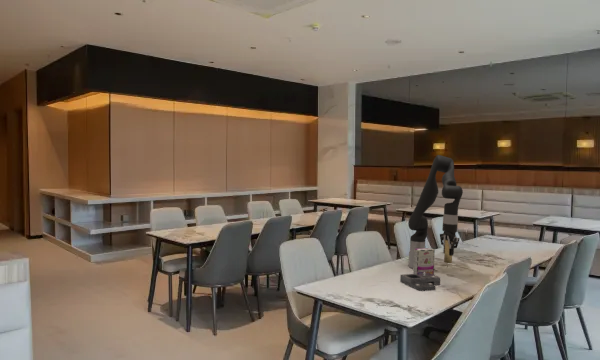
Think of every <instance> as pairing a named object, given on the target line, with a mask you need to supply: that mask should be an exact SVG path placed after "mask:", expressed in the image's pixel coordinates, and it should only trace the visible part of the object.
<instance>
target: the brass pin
mask: <svg viewBox="0 0 600 360" xmlns="http://www.w3.org/2000/svg"><path fill="white" fill-rule="evenodd" d="M451 243H453V242H451ZM451 246H452V244H451ZM449 249H450V247H449V244H448V240H445V253H444V252H443V255H444V257H443V263H445V264H452V262H453V256H450V255H449Z"/></svg>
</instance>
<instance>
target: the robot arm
mask: <svg viewBox="0 0 600 360" xmlns="http://www.w3.org/2000/svg"><path fill="white" fill-rule="evenodd" d="M437 172H441V173H444V174H443V175H442V177H441V183H442V188H441V189H442V190H441V195H442V197H443V198H444V199H448V200H449V199H451V200H453V201H451V202H447V203H444V206H443V207H444V208H443V216H442V232H443V233H439V239H440V245H442V247H443V254H444V253H445V240H448V244H449V247H450V249H449V255H450V256H452V257H453V256H454V254H455V249H457V247H458V245H459V243H460V237H457V232H458V224H459V223H458V222H459V217H458V215H459V205H460V202H461V199H462V196H463V193H464V192H463V188H462V187H461V186H460V185H458V184H457V180H456V177H455V161H454V159H452V158H451V157H447V156H444V155H441V154H437V155H436V156H435V157H434V159H433V161H432V165H431V168H430V171H429V173H428V177H427V179H426V181H425V184H424V186H423V189H422V191H421V193H420V196H419V198H418V201H417V202H416V205H415V208H414V209H413V211H412V214H410V217H409V218H408V222H407V224H408V227H409V229H410V231H411V230H412V231H415V232H414V234H412V235H410V238H409V239H410V241H409V243H410V244H409V252H408V268H410V269H414V249H424V248H426V239H427V235H428V230H429V229H428V228H429V227H428V225H429V223H428V218H427V216H425V215H424V213H425V212H427V210H428V209H429V208H430V207H431V206H433V204H434V203H435V202H436V199H437V197H438V195H439V187H438V182H437ZM451 242H453V243H451ZM451 244H452V246H451Z"/></svg>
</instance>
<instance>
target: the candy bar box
mask: <svg viewBox="0 0 600 360" xmlns="http://www.w3.org/2000/svg"><path fill="white" fill-rule="evenodd" d="M412 269H413V268H412ZM423 272H426V273H431V274H433V275H435V249H433V248H432V247H429V248H427V247H425V248H424V249H414V269H413V273H412V274H420V273H423Z"/></svg>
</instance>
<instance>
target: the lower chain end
mask: <svg viewBox="0 0 600 360" xmlns="http://www.w3.org/2000/svg"><path fill="white" fill-rule="evenodd" d="M399 279H400V280H399V281H400V283H402V284H404V285H406V286H408V287H410V288H412V289H414V290H416V291H417V292H424V291H435V290H436V285H433V284H432V283H428V282H419V283H409V282H407V281H405V280H403V279H401V278H400V277H399Z"/></svg>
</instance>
